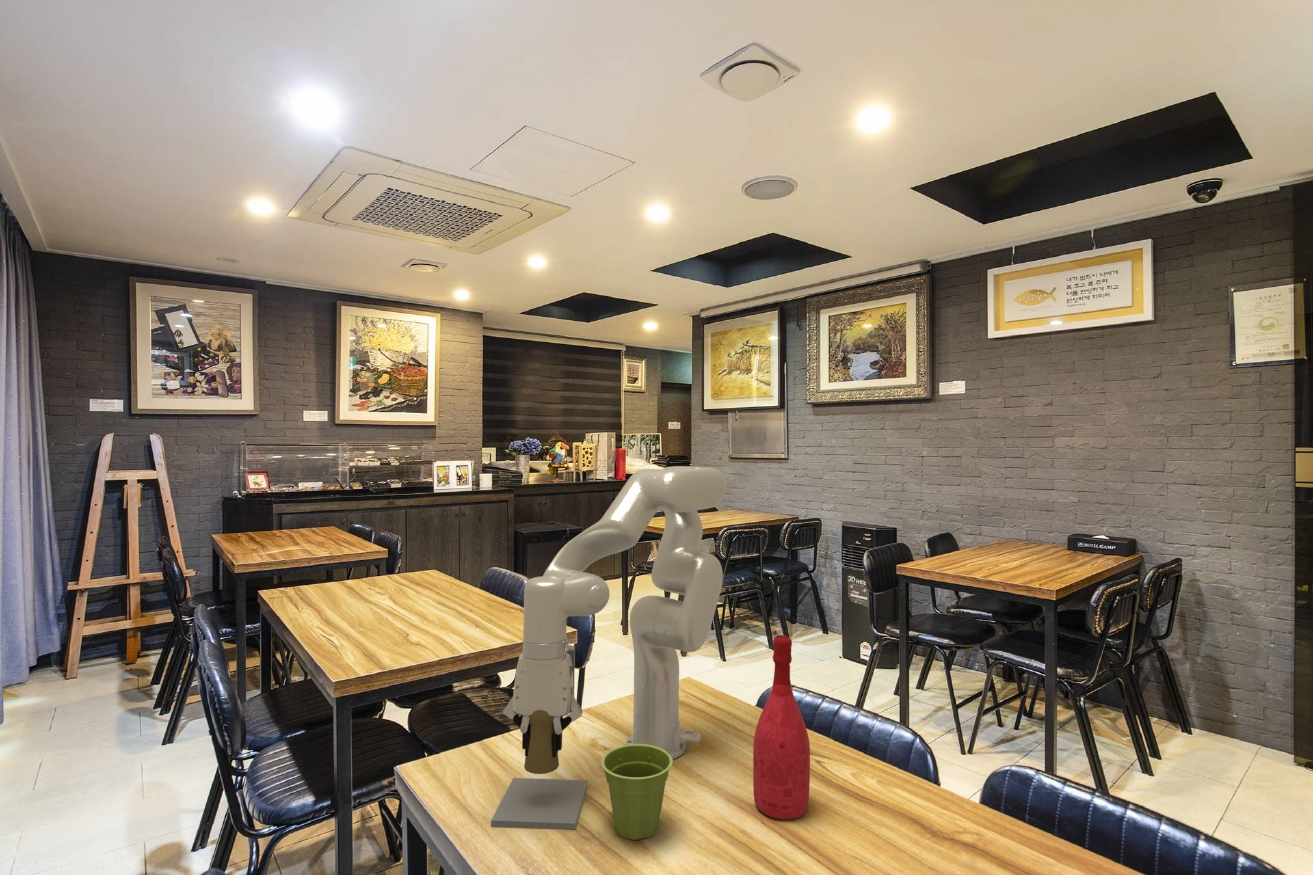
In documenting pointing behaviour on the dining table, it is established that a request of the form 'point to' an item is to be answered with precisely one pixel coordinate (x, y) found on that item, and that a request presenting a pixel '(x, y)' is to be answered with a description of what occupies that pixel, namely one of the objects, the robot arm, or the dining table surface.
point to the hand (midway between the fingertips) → (542, 752)
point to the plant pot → (636, 787)
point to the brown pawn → (541, 744)
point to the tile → (541, 804)
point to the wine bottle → (781, 746)
